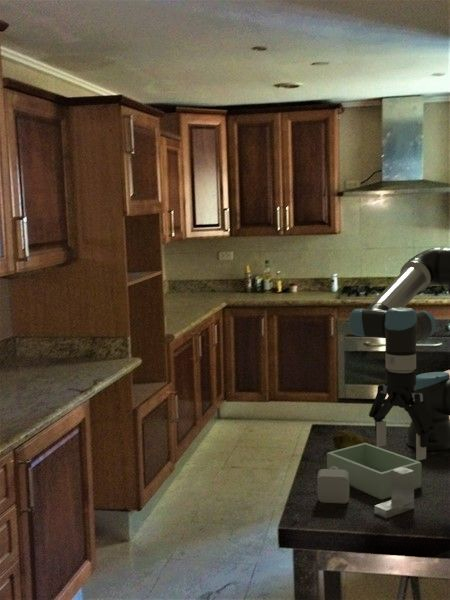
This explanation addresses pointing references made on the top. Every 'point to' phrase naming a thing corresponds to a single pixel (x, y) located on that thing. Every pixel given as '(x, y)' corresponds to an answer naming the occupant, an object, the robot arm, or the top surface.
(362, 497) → the top surface
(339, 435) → the potato
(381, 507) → the grey l-shaped block
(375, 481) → the open box
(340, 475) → the wall hook
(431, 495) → the top surface
